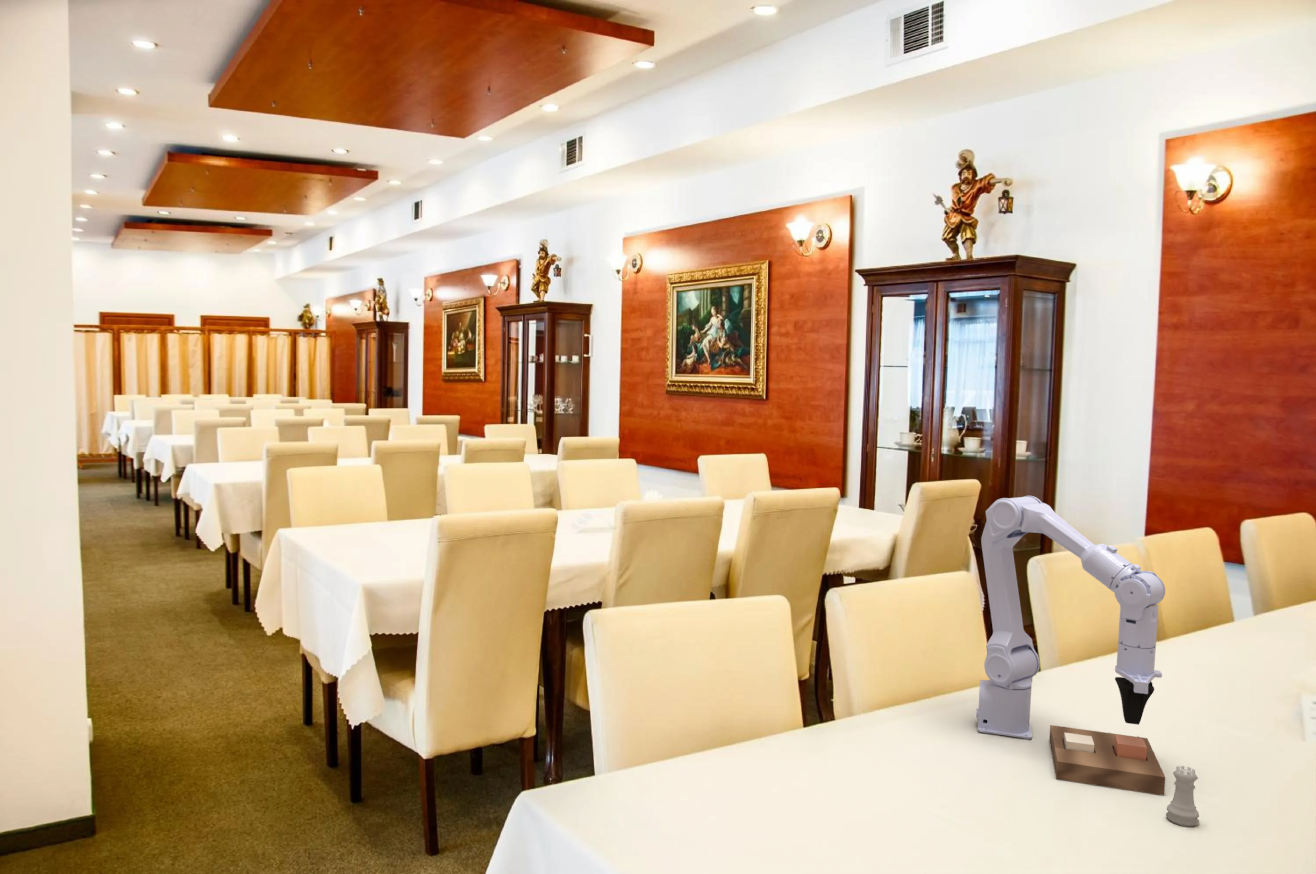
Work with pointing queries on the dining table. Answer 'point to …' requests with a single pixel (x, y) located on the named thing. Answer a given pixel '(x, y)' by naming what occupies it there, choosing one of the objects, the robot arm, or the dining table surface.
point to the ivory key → (1078, 742)
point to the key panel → (1105, 763)
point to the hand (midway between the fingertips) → (1131, 722)
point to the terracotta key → (1130, 747)
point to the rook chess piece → (1183, 799)
